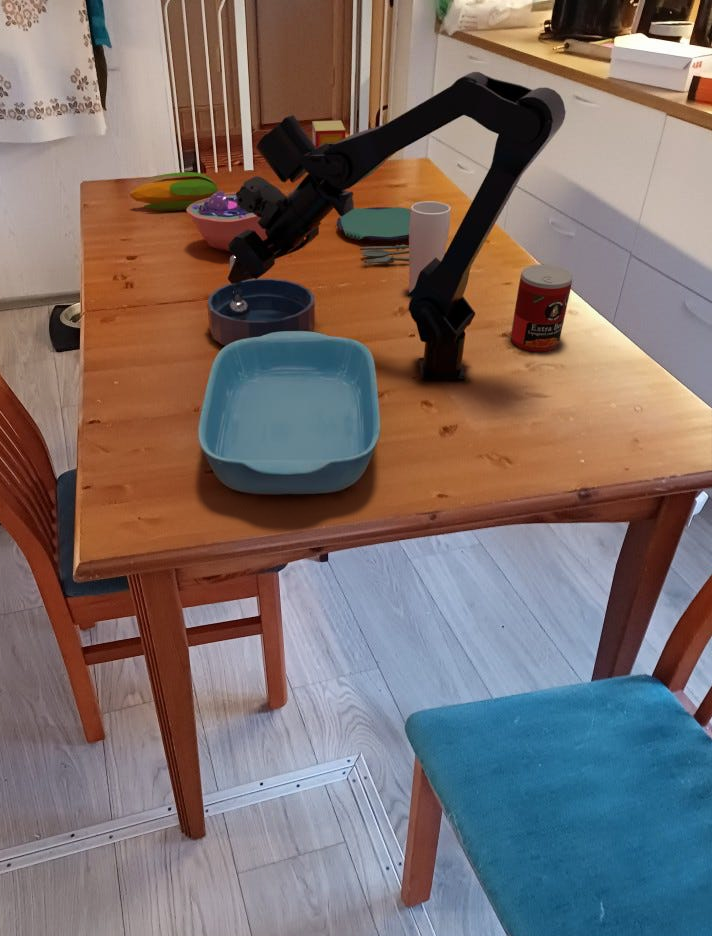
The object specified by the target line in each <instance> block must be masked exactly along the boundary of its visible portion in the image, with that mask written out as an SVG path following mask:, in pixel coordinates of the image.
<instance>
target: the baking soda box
mask: <svg viewBox="0 0 712 936" xmlns="http://www.w3.org/2000/svg"><path fill="white" fill-rule="evenodd" d="M311 129H312V130H311V132H312V134H311V136H312V140H311V141H312V143H313V144H314V145H315V147H316V148H317V147H319V146H321V145H323V144H326V143H337V142H339V141H341V140H343V139H345V138H346V133H347V132H346V128H345V126H344V123H343V122H342V120H341V119H336V120H334V119H333V120H312V121H311Z"/></svg>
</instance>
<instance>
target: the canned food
mask: <svg viewBox="0 0 712 936" xmlns="http://www.w3.org/2000/svg"><path fill="white" fill-rule="evenodd" d="M573 277H574V276H573V274H572V273H571V272H570V271H569V270H567V269H566V268H563V267H561V266H556V265H552V264H551V265H550V264H534V265H529V266H526V267H525V268H523V269H522V271H521V274H520V278H519V283H518V289H517V294H516V300H515V301H516V302H515V308H514V313H513V314H514V315H513V319H512V325H511V332H510V337H511V341H512V343H513V345H515V346H516V347H518V348H520V349H522V350H526V351H530V352H535V353H536V352H537V353H538V352H539V353H541V352H548V351H551V350H553V349H555V348H556V347H557V346H558V344H559V342H560V339H561V336H562V330H563V325H564V321H565V318H566V317H565V316H566V313H567V307H568V305H569V304H568V303H569V300H570V294H571V289H572V284H573Z"/></svg>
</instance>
